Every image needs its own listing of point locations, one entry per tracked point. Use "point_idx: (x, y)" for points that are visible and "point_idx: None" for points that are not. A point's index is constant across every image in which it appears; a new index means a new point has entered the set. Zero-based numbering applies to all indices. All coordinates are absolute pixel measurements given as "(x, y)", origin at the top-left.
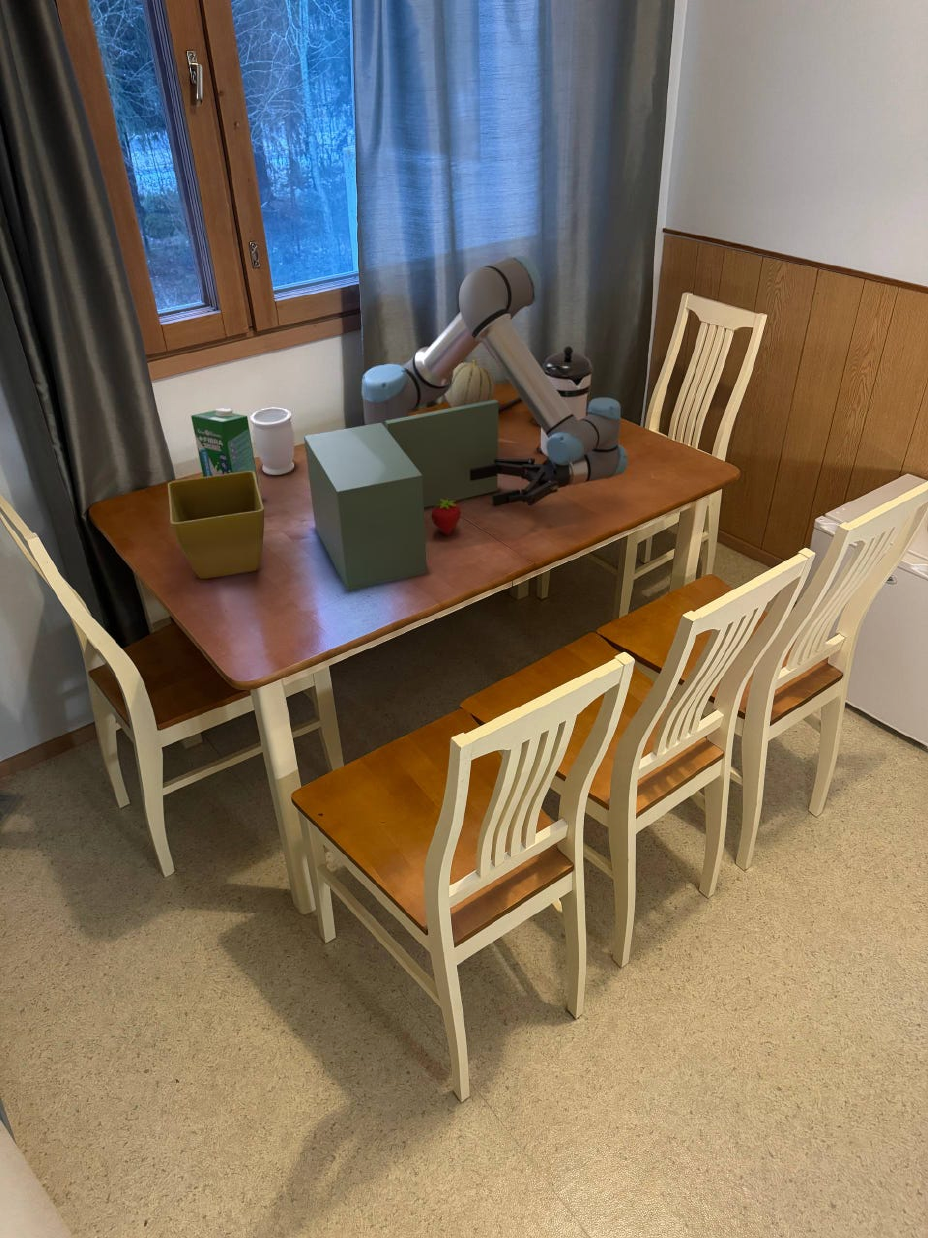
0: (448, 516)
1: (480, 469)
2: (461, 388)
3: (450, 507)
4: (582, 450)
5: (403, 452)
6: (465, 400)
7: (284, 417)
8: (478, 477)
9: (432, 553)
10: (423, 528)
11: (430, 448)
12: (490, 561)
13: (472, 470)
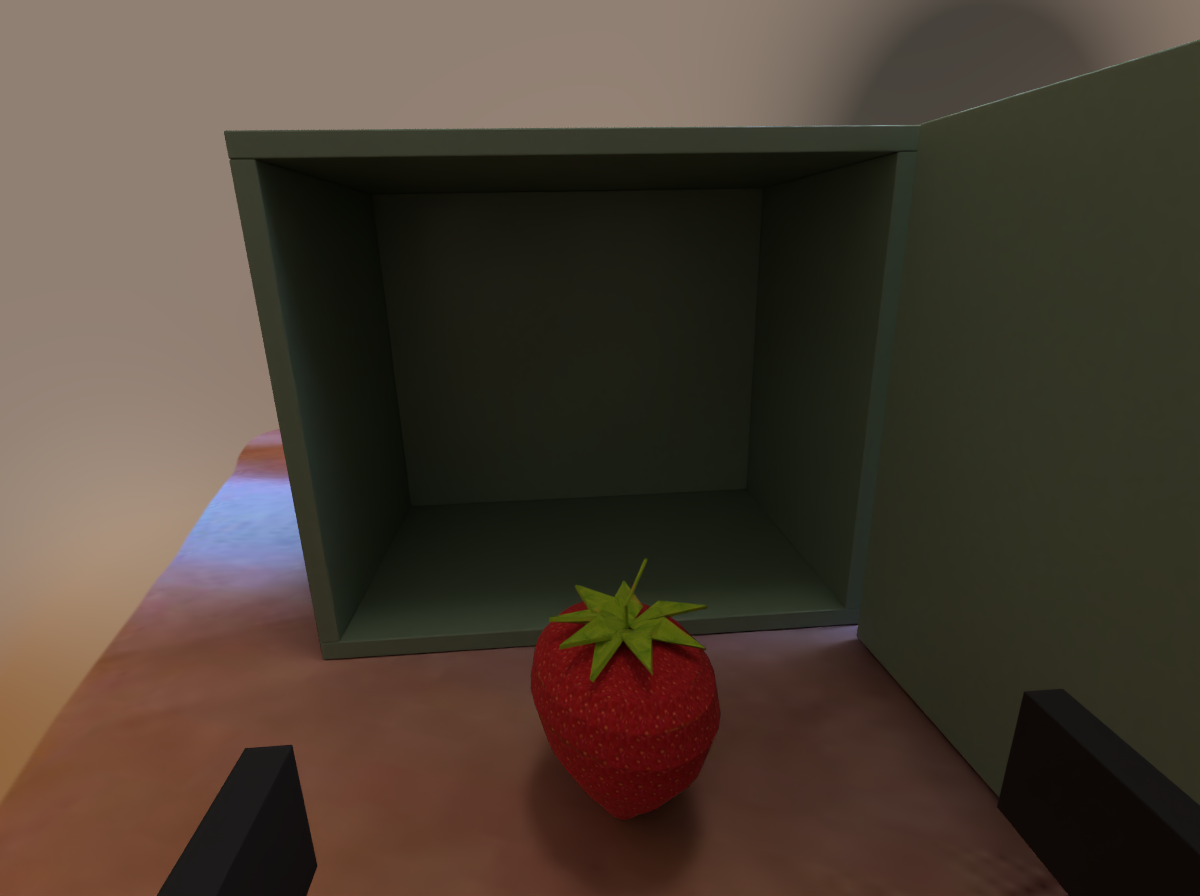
0: (534, 656)
1: (1139, 814)
2: None
3: (588, 645)
4: None
5: (523, 129)
6: None
7: None
8: (1078, 879)
9: (458, 705)
10: (285, 441)
11: (1100, 382)
12: None
13: (1035, 707)
